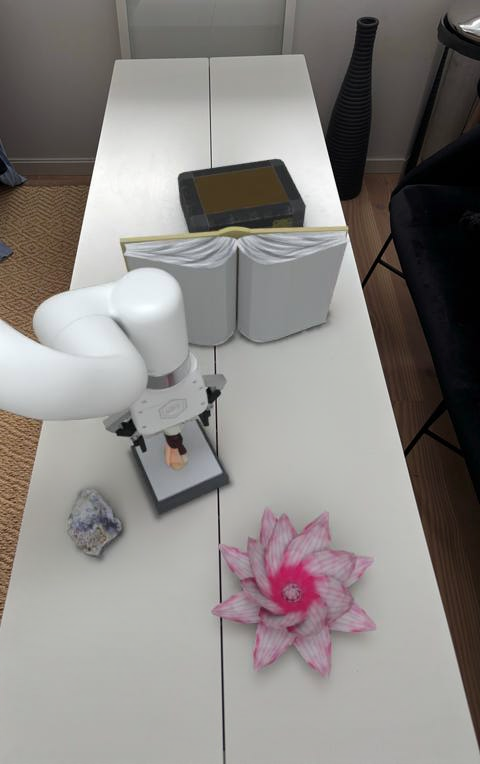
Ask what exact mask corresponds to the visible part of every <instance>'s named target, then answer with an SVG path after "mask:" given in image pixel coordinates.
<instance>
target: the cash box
mask: <svg viewBox="0 0 480 764" xmlns="http://www.w3.org/2000/svg"><path fill="white" fill-rule="evenodd" d="M177 185H178V196H179V203H180V207H181V210H182V213H183V216H184V220H185V224H186V227H187V230H188V233H201V232H214V231H219V230H221V229H224V228H227V227H245V228H249V229H266V228H300V227H304V225H305V218H306V217H305V216H306V208H307V206H306V205H307V204H306V203H305V201H304V199H303V197H302V195H301V193H300V191H299V189H298V187H297V185H296V183H295V181H294V180H293V177H292V175H291V173H290V171H289V170H288V168H287V165H286V164H285V162H284V161H283V159H281V158H271V159H263V160H258V161H251V162H243V163H236V164H229V165H223V166H215V167H208V168H203V169H196V170H195V169H194V170H188V171H183V172H180V173H179V174H178V176H177Z"/></svg>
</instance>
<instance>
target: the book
mask: <svg viewBox="0 0 480 764" xmlns="http://www.w3.org/2000/svg"><path fill="white" fill-rule="evenodd" d="M348 232H349V225H340V226H337V225H335V226H305V227H304V226H303V227H300V228H266V229H249V228H245V227H227V228H224V229H221V230H219V231H214V232H201V233H189V232H187V233H175V234H162V235H147V236H137V237H136V236H135V237H122V238H121V237H120V238H119V245H120V250H121V253H122V257H123V259H124V260H123V261H124V264H125V267H126V273H128V272H130V271H132V270H135V269H139V268H157V269H161V270H164V271H166V272H167V273H169V274H170V275H172V276H173V277H174V278H175V279H176V280H177V282H178V283H179V285H180V287H181V290H182V295H183V301H184V310H185V319H186V328H187V337H188V344H193V345H197V346H203V347H205V346H208V347H215V346H219V345H222V344H224V343H225V342H227V341H228V340H229V339H230V338H231V336H232V335H234V333H235V331H236V328H237V330H238V331H239V332H240V334H241V335H242V336H243V337H244V338H246V339H248V340H249V341H252V342H255V343H258V344H259V343H261V344H264V343H269V342H273V341H274V342H275V341H276V340H279V339H283V338H285V337H288V336H291V335H294V334H296V333H299V332H300V333H301V332H302V331H305V330H307V329H310V328H313V327H316V326H319V325H322V324H325V323H327V322H328V320H327V318H328V314H329V310H330V307H331V303H332V299H333V295H334V292H335V289H336V284H337V281H338V278H339V275H340V271H341V268H342V267H341V266H342V264H343V260H344V256H345V253H346V249H347V246H348V243H350V240H349V239H348V234H349V233H348Z"/></svg>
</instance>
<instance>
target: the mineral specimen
mask: <svg viewBox="0 0 480 764" xmlns="http://www.w3.org/2000/svg"><path fill="white" fill-rule="evenodd" d="M76 496H77V497H76V499H75V501H74V504H73V506H72V509H71V513H70V514H69V516H68V518H67V521H68V524H69V525H68V526H67V530H66V532H67V535H68V536H69V537H70V539H71V540H73V542H75V543H76V545H77V546H79V548H80V549H81V550H82V552H83V553H84V554H86V555H88V556H89V557H90V556H91V557H98V558H99V557H100V556H101V555H102V554H103V552H104V551H105V549H106V548H107V547H108V545H109V544H110V543H111V541H112V540H114V539H115V538H116V536H118V535H119V534H120V532H121V531H122V530H123V528H122V522H121V521H120V519H118V518H117V517H114V512H113V510H112V507H111V506H110V505H109V503H108V501H106V500H105V499H104V498H103V497H102V496H101V495H100V493H99V492H98V490H96V489H94V488H93V487H91V488H90V487H89V488H83V489H80V490H79V491H77V493H76Z"/></svg>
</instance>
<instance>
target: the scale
mask: <svg viewBox="0 0 480 764" xmlns="http://www.w3.org/2000/svg"><path fill="white" fill-rule="evenodd" d="M203 427H204V426H203V424H202V422H201V420H200V419H199V418H195V419H192V420H190V421H187V422H184V427H183V429H182V431H181V432H180V434H181V435H182V437H183V443H182V444H183V445H184V447H185V448H186V450H187V457H188V463H187V464H186V465H185V466H184V467H182V468H181V469H180V470H174V469H173V468H172V467H171V465H170V466H168V465H167V464H166V461H165V455H164V450H165V448H166V439H165V436H164V433H163V432H161V433H157V434H156V435H154V436H151V437H148V438H145V439H144V441H145V445H146V448H147V451H146V452H144V453H142V450H141V448H140V446H137V447H135V446H134V444H131V445H130V450H131V452H132V455H133V458H134V460H135V462H136V464H137V467H138V469H139V471H140V473H141V476H142V478H143V481H144V483H145V485H146V488H147V490H148V492H149V495H150V497H151V499H152V502H153V504H154V507H155V509H156V511H157V514H158V515H159V516H160V515H162V514H164V513H167V512H168V511H171V510H173V509H175V508H178V507H180V506H182V505H184V504H186V503H188V502H191V501H193V500H195V499H198V498H200V497H202V496H205V495H207V494H209V493H211V492H213V491H216V490H217V489H219V488H223V487H224V486H227V485H229V484H230V483H229V482H230V481H229V480H230V479H229V475H228V473H227V471H226V468H224V465H223V463H222V462H221V460H220V458H219V456H218V454H217V452H216V450H215V448H214V446H213V443H212V442H211V441H210V439H209V437H208V435H207V433H206V431H205V429H204V428H203Z"/></svg>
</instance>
